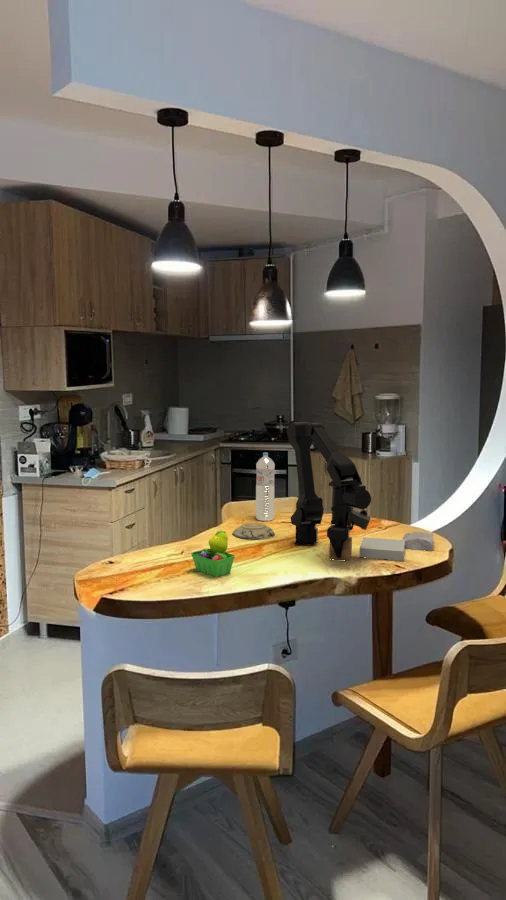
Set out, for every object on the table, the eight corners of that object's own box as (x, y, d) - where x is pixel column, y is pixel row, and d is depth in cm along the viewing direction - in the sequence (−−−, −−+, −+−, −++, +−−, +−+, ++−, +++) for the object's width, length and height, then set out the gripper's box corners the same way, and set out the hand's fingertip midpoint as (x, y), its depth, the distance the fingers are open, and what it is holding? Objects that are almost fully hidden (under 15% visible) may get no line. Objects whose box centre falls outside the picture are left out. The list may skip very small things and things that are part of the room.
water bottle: (253, 517, 258) (253, 451, 255) (270, 516, 261) (271, 451, 257) (259, 522, 252) (259, 454, 249) (276, 520, 254) (277, 453, 251)
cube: (329, 560, 206) (329, 540, 205) (331, 554, 212) (332, 535, 211) (349, 561, 204) (350, 542, 204) (351, 556, 210) (352, 537, 209)
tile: (359, 557, 208) (359, 548, 208) (363, 546, 221) (363, 537, 220) (403, 561, 205) (403, 551, 205) (404, 549, 218) (404, 540, 217)
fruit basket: (189, 570, 196) (189, 531, 194) (212, 563, 202) (212, 526, 200) (216, 579, 188) (216, 539, 186) (239, 572, 194) (239, 533, 192)
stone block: (403, 555, 218) (436, 551, 216) (401, 540, 218) (433, 536, 215) (403, 546, 229) (434, 542, 227) (401, 532, 229) (432, 528, 227)
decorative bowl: (236, 529, 244) (227, 539, 229) (236, 519, 243) (227, 528, 228) (278, 531, 241) (271, 542, 226) (278, 521, 241) (272, 531, 226)
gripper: (366, 511, 195) (364, 564, 197) (371, 498, 213) (370, 547, 215) (327, 508, 198) (326, 561, 200) (335, 496, 215) (334, 544, 218)
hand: (340, 553), depth 208 cm, fingers open, 8 cm apart
